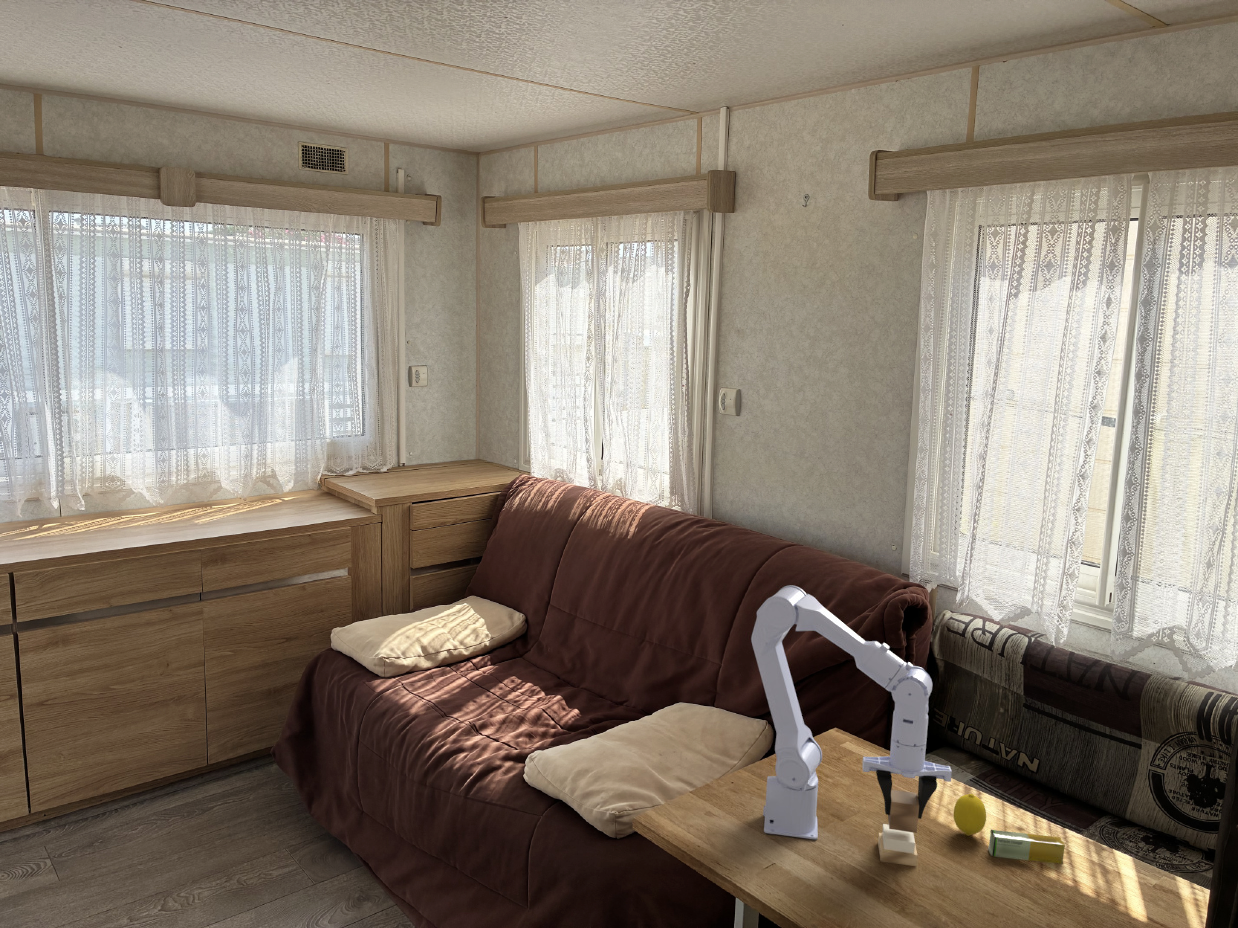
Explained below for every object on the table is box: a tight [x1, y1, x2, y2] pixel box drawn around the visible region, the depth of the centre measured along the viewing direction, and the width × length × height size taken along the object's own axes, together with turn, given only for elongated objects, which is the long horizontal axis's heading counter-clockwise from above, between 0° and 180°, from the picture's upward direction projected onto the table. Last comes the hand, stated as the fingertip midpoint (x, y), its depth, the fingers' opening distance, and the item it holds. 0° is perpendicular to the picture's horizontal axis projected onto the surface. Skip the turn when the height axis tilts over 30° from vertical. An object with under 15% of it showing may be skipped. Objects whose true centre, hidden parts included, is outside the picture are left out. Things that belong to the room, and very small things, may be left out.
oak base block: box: [877, 832, 918, 867], centre depth 162 cm, size 6×6×2 cm
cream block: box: [881, 823, 916, 854], centre depth 161 cm, size 5×5×2 cm
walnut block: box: [887, 789, 919, 834], centre depth 160 cm, size 4×4×5 cm
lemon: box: [953, 793, 987, 837], centre depth 168 cm, size 6×6×8 cm
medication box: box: [987, 829, 1066, 865], centre depth 162 cm, size 12×3×4 cm, turn 82°
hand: (902, 813), depth 160 cm, fingers closed on walnut block, 5 cm apart
